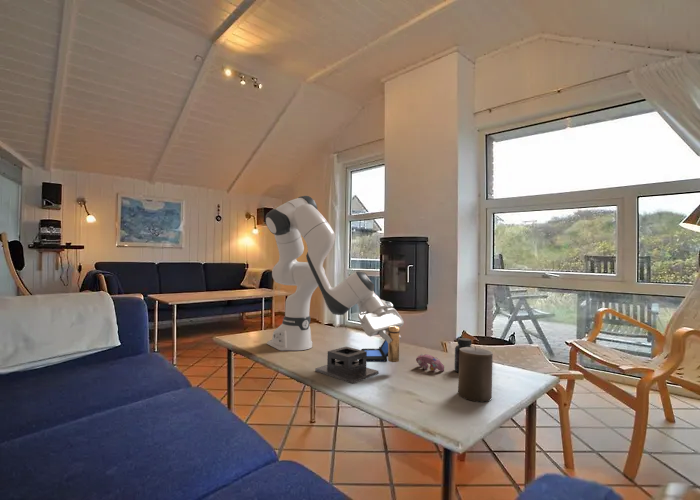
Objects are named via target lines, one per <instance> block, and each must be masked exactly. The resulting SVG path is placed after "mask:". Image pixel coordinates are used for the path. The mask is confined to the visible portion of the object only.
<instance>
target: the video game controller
mask: <svg viewBox="0 0 700 500" xmlns="http://www.w3.org/2000/svg"><path fill="white" fill-rule="evenodd" d="M415 361H416V363H418V365H419V367H422V369H424V370H428V369H429V370H430V371H432V372H435V371H436V370H439V371H440V372H445V365H444V364H443V363H442V362H441V360H440V359H438V357H435V356H432V355H431V354H423V353H421V354H420V355H418V356H417V357H416V359H415Z"/></svg>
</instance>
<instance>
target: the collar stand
mask: <svg viewBox="0 0 700 500" xmlns="http://www.w3.org/2000/svg"><path fill="white" fill-rule="evenodd" d="M326 360H327V364H324V365H321V366H318V367H315V372H317V373H320V374H323V375H326V376H328V377H332V378H335V379H338V380H341V381H343V382H346V383H350V384H351V385H352V384H357V383H358V382H361V381H363V380H366V379H369V378H371V377H373V376H377V375H379V370H376V369H373V368H369V367H367V362H368V361H367V352H366V351H362V350H361V349H357V348H353V347H350V346H343V347H339V348H336V349H335V348H334V349H332V350H328V351H327V358H326Z"/></svg>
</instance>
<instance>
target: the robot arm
mask: <svg viewBox="0 0 700 500" xmlns="http://www.w3.org/2000/svg"><path fill="white" fill-rule="evenodd" d="M317 205H318V204H317V203H316V200H314V199H313V198H312V197H311V196H310V195H302V196H301V195H300V196H298V198H294V199H291V200H288V201H286V202H285V203H283V204H280V205H278V207H275V208H273V209H271V210H270V211H269V212H267V213H266V215H265V220H264V221H265V225H266V226H267V229H268V230H269V231H270V233H271V234H273V235H274V239H275V242H276V246H277V250H278V255H279V257H278V258H279V259H278V261H277V262H276V264H275V265H274V266H273V267H272V270H271V277H272V279H273V281H274V282H275V283H276V284H279V285H284V286H296V290H295V292H293V293H291V294H290V295H289V296H287V298H286V300H285V305H284V307H285V308H284V310H285V311H284V312H285V313H284V316H283V317H281V320H282V321H281V322H282V323H281V324H280V325H279V326H278V327H276V329H274V331H273V332H272V337H271V338H272V339H271V340H268V341H267V342H266V345H268V346H271V348H274V349H276V350H278V351H303V350H304V351H305V350H308V349H312V347H313V341H312V331H311V326H310V324H311V315H310V310H311V308H310V307H311V299H312V296H313V294H314V292H315V291H316V289H317V288H319V291H320V292H321V295H322V297H323V299H324V303H325V305H326V308H327V309H328V311H329V312H330V313H332V315H335V316H336V315H337V316H344V315H345V314H346V313H347V312H348V311H349V310H350V309H351V308H353V307H354V306H355V305H357V306H358V309H359V311H360V312H358V316H357V317H358V319H359V322H360V326H361V327H362V329H363V331H364V333H365V334H366V335H367V336H368V337H373V336H376V335H379V336H380V337H381V338H382V339H383V340H384V341H385V340H386V341H387V343H391V342H392V341H393V339H392V337H391V336H389V335H388V334H387V333H388V327H389V326H398V327H400V328H402V326H403V325H404V324H405V322H404V319H403V318H402V316H401V315H400V313H399V312H398V311H397V309H395V307H394V304H393V303H392V302H391V301H386V300H384V299H381V298H380V297H379V295H377V294H376V293H375V291H374V290H375V284H374V283H373V282H372V280H371V279H370V278H369V275H368V274H367V273H366V272H363V271H355V272H353V273H351V274H349V275H348V276H347V277H346V278H345V279H344V280H342V281H341V282H340V283H338V284H336V286H333V287H332V286H331V284H330V281H329V279H328V277H327V275H326V270H325V268H324V263H325V260H326V258H327V256H328V255H329V254H330V252H331V251H332V249H333V247H334V245H335V241H336V233H335V231H334V229H333V228H332V226H331V224H330V223H329V222H328V221H327V219H326V218H325V216H323V214H322V213H321V212H320V211H319V210H318V206H317ZM303 240H304V241H305V244H306V247H307V253H306V255H305V256H306V257H305V258H306V261H305V262H304V261H298V260H297V259H298V258H300V257H301V256H302V255H303V253H304V250H305V246H304V242H303ZM401 339H402V336H401V335H400V336H399V341H400V340H401Z"/></svg>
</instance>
